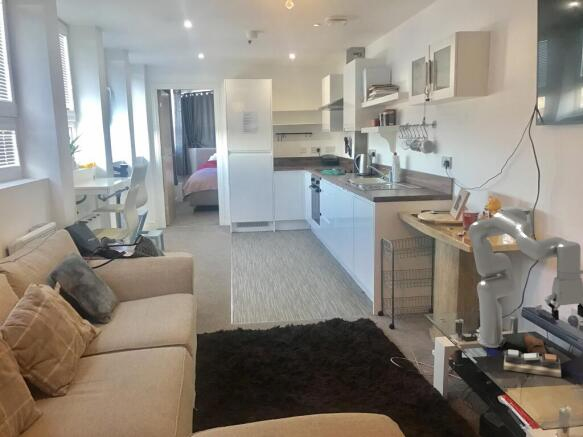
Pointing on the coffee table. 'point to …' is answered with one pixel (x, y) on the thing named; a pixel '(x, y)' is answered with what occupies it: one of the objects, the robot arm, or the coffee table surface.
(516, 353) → the button left
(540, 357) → the switch panel
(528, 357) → the rocker
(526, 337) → the sunglasses case
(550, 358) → the button right
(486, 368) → the coffee table surface
